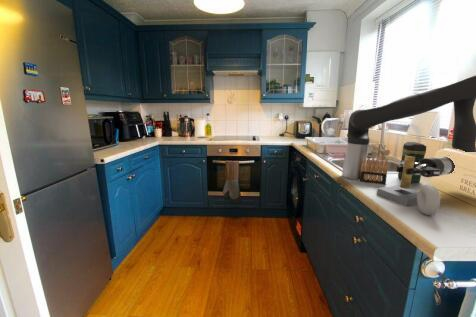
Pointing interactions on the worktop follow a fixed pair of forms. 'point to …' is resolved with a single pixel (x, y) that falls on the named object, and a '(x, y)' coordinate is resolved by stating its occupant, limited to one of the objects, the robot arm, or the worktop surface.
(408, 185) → the dowel
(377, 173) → the ammunition clip
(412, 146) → the coffee jar
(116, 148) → the worktop surface
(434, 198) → the donut
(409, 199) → the socket block
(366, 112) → the robot arm
